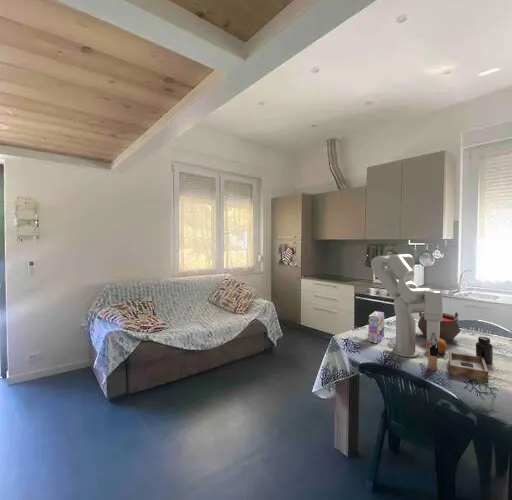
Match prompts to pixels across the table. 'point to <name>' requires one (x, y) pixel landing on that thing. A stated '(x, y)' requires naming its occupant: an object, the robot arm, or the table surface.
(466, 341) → the table surface
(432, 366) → the peg
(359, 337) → the table surface
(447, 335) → the brown cooking pot
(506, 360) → the table surface
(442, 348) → the potato
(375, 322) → the candy box
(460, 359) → the wooden rectangular frame
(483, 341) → the supplement bottle
